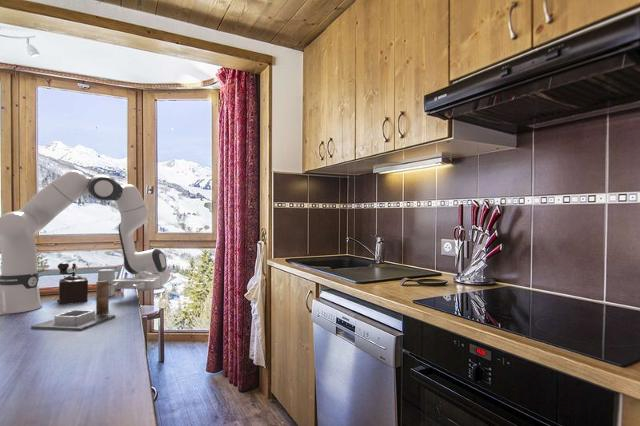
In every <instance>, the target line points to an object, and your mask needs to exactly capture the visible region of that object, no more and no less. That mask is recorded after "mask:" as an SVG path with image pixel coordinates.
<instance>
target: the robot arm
mask: <svg viewBox="0 0 640 426" xmlns="http://www.w3.org/2000/svg"><path fill="white" fill-rule="evenodd" d="M84 195H91V197H93V198H94V199H95V200H98V201H103V202H106V201H111V202H112V201H114V203H115V205H116V206H117V209H118V211H119V214H120V223H119V224H118V227H117V228H118V234H119V235H118V236H119V240H120V245H121V246H120V247H121V250H122V255H123V267H124V270H126V271H127V272H128V273H129V274H131V275H135V276H134V277H120V278H118V279H116V278H115V280H112V283H111V286H112V288H113V289H114V290H116V289H117V290H118V289H122V290H124V289H125V290H126V289H129V290H130V289H131V290H138V291H139V292H147V291H151V290H160V289H163V286H164V285H165V284H166V283H168V281H169V280H170V277H171V271H170V270H169V268H167V258H166V255H165V254H164V252H163V251H162V250H160V249H159V248H153V249H148V250H144V251H139V252H138V251H137V250H136V246H135V241H134V236H133V235H134V233H135V231H136V230H137V229H139V228H141V226H143V225H144V224H145V223H146V222H147V220H148V217H149V212H148V209H147V205H146V202H145V200H144V197H143V196H142V194H141V192H140V190H139V189H138V188H137V186H136V185H133V184H130V183H129V184H128V183H127V184H122V185H121V184H120V183H119V182H118V181H116V180H115V178H113V177H112V176H110V175H108V174H97V175H92V176H87V175H86V174H85V173H84V172H81V171H80V170H73V169H72V170H70V171H67V172H65V173H64V174H62V175H60V176H58V177H57V178H55V179H54V180H52V181H50V183H48V184H47V185H46V186H45V187H43V188H42V189H41V190H39V191H38V192H37V193H35V194H34V195H33V196H32V198H30V199H29V200H28V201H27V202H26V203H25V204H24V205H23V206H22V207H21V208H20V209H18V210H16V211H8V212H6V213H4V214H3V215H1V216H0V254H1V255H0V256H1V260H0V261H1V263H0V265H1V270H0V271H1V274H0V316H3V315H8V314H17V313H25V312H29V311H33V310H38V309H40V308H42V307H43V305H42V304H43V302H42V301H41V295H40V289H39V288H40V287H39V285H38V284H39V277H40V275H39V272H38V251H37V246H36V240H35V236H36V235H37V234H38V233H39V232H40V231H41V230H43V229H44V228H45V227H46V226H47V225H48V224H49V223H50V222H52V220H54V219H56V217H57V216H58V215H60V214H61V213H62V212H63V211H65V210H66V209H67V208H68V207H69V206H70V205H72V204H73V203H74V202H75V201H77V200H78V199H80V197H83V196H84Z"/></svg>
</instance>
